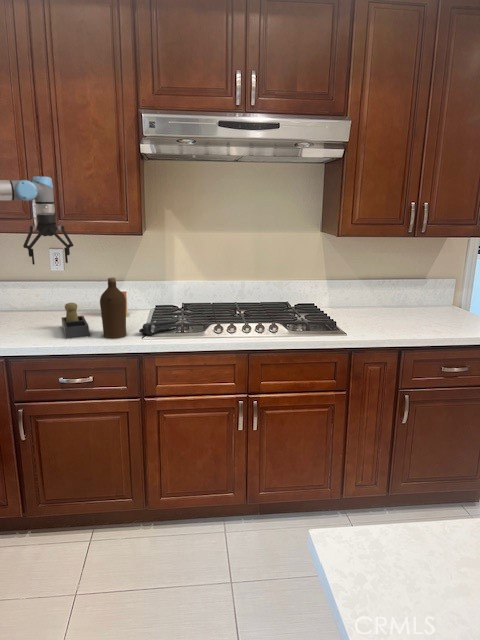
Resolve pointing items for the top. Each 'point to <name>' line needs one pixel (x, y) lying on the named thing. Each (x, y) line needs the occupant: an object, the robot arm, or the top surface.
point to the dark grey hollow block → (75, 328)
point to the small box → (125, 297)
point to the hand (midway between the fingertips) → (50, 263)
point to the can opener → (150, 327)
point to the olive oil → (113, 311)
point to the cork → (71, 312)
